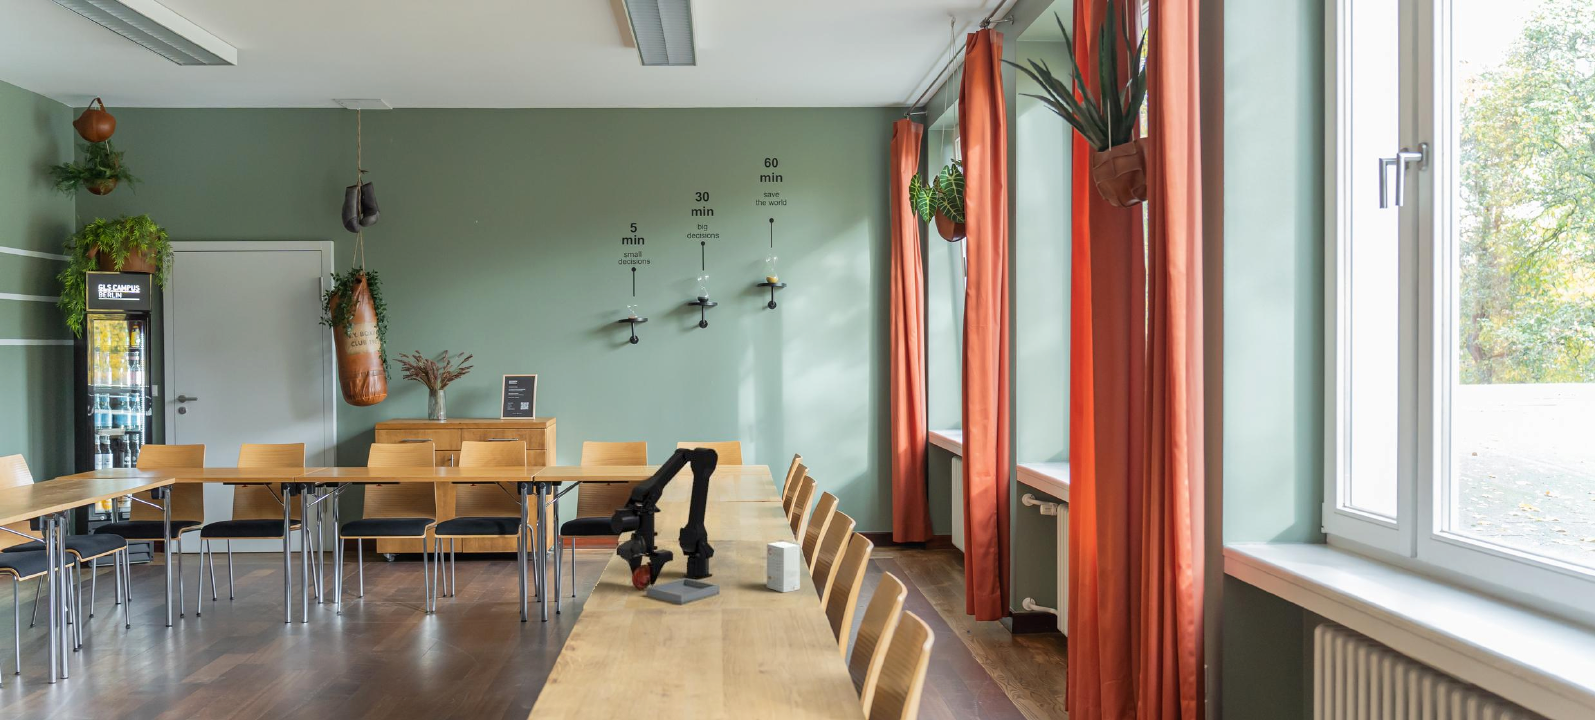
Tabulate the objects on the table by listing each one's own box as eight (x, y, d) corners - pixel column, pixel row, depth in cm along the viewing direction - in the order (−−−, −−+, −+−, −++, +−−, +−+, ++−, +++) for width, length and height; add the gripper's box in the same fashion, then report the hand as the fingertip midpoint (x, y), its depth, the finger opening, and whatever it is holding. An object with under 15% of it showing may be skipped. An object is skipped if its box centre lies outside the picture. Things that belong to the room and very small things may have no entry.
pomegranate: (659, 594, 277) (637, 570, 280) (670, 576, 274) (647, 553, 278) (643, 602, 271) (620, 578, 274) (653, 584, 268) (631, 560, 271)
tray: (684, 586, 277) (684, 577, 277) (719, 593, 269) (719, 585, 269) (646, 596, 266) (646, 587, 266) (681, 604, 257) (681, 595, 257)
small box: (800, 589, 274) (800, 545, 274) (783, 593, 270) (783, 547, 270) (783, 584, 280) (783, 540, 280) (766, 587, 276) (766, 543, 276)
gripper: (602, 529, 274) (601, 582, 274) (645, 537, 262) (645, 593, 262) (631, 523, 283) (631, 575, 283) (674, 531, 271) (674, 585, 271)
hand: (644, 582), depth 274 cm, fingers closed on pomegranate, 7 cm apart
